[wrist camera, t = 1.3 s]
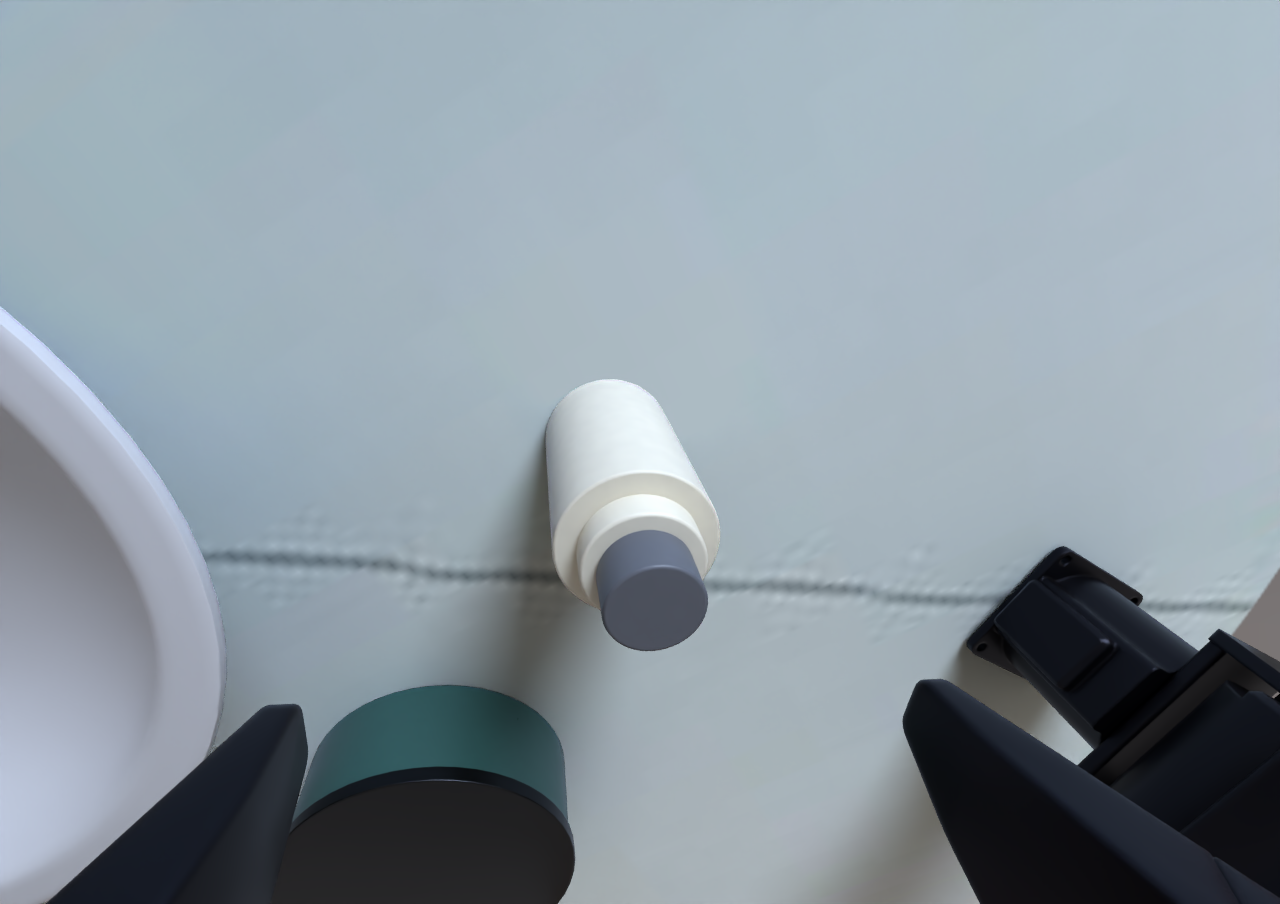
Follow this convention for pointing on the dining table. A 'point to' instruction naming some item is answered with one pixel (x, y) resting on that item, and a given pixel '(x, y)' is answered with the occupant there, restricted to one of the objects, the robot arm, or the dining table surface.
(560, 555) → the bottle
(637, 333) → the dining table surface
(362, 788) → the enamel tin
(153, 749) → the soup bowl
